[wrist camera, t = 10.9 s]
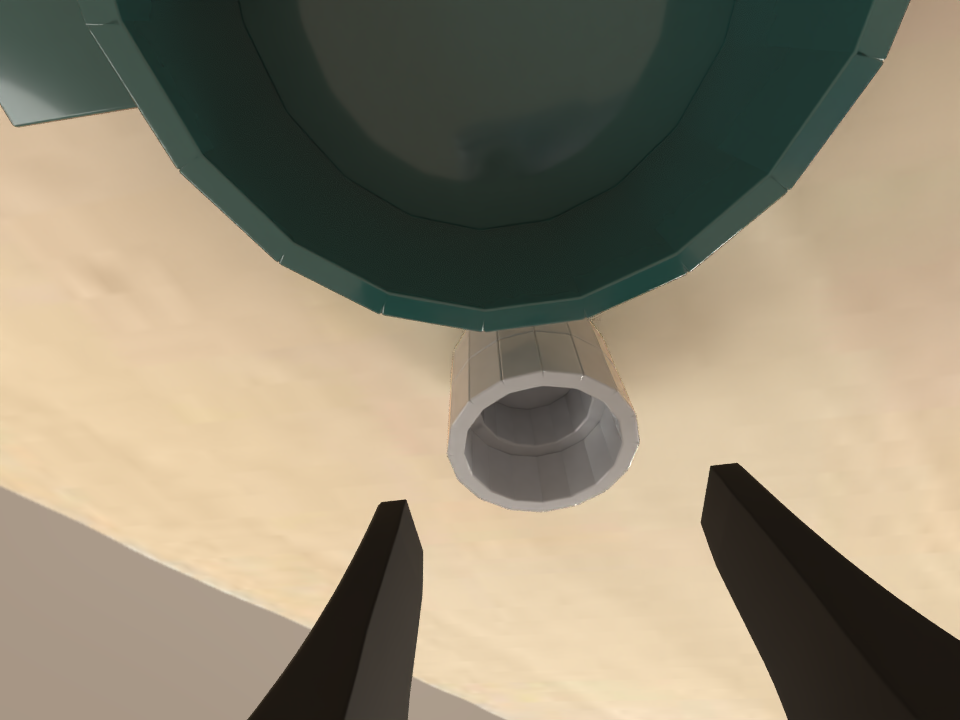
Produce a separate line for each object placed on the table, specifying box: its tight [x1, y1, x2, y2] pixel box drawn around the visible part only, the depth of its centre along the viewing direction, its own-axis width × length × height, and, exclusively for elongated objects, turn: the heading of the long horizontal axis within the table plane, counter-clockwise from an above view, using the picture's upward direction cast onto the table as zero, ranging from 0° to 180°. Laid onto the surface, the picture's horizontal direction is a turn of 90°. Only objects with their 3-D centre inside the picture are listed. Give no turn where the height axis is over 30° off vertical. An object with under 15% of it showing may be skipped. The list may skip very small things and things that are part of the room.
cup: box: [447, 317, 640, 512], centre depth 16 cm, size 5×5×4 cm
